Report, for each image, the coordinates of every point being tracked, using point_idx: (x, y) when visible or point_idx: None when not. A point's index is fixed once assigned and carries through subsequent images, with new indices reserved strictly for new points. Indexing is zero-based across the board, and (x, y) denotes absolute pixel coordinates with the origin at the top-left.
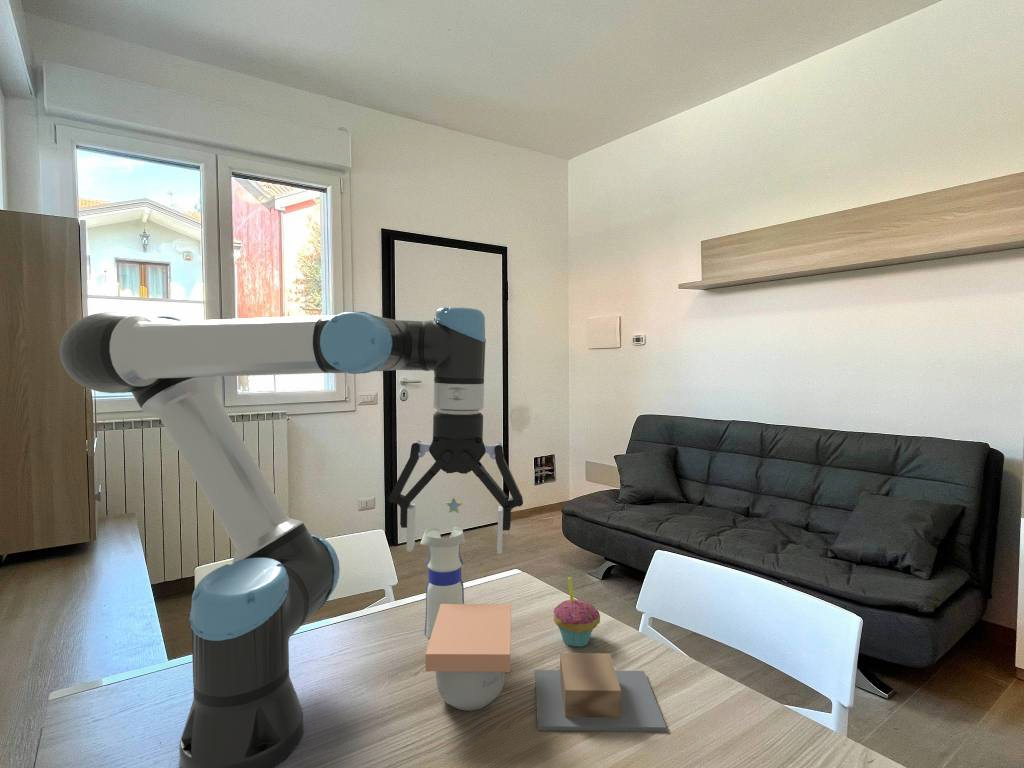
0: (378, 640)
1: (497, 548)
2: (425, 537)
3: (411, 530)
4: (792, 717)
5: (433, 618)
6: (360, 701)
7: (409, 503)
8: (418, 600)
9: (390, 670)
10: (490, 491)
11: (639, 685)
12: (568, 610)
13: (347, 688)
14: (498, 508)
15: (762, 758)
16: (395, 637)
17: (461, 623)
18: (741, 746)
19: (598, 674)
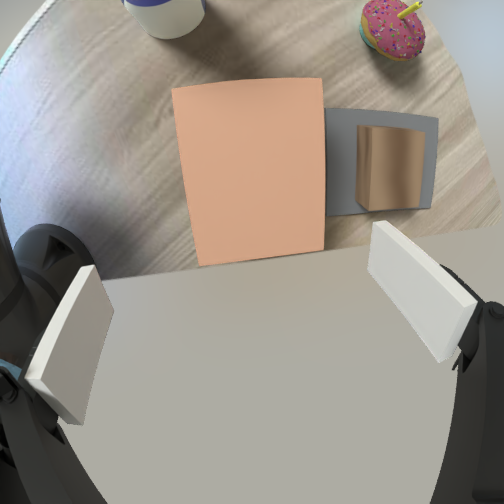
0: (79, 61)
1: (375, 278)
2: None
3: (97, 358)
4: (496, 186)
5: (151, 28)
6: (112, 195)
7: (66, 439)
8: None
9: (119, 125)
10: (451, 434)
11: (429, 144)
12: (393, 36)
13: (87, 175)
14: (451, 336)
15: (465, 229)
16: (99, 46)
17: (233, 164)
18: (461, 218)
19: (406, 178)
